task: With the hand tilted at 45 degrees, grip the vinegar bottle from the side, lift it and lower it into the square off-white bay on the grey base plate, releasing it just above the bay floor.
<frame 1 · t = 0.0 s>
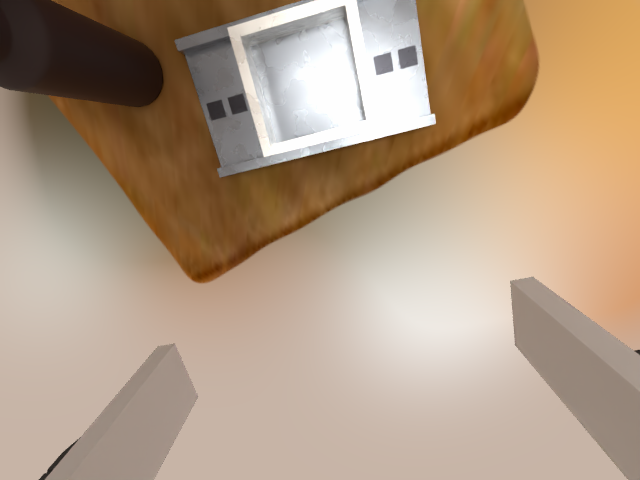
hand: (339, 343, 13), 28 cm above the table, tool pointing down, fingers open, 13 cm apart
grey base plate: (309, 86, 35), on the table
vinegar: (135, 74, 36), on the table
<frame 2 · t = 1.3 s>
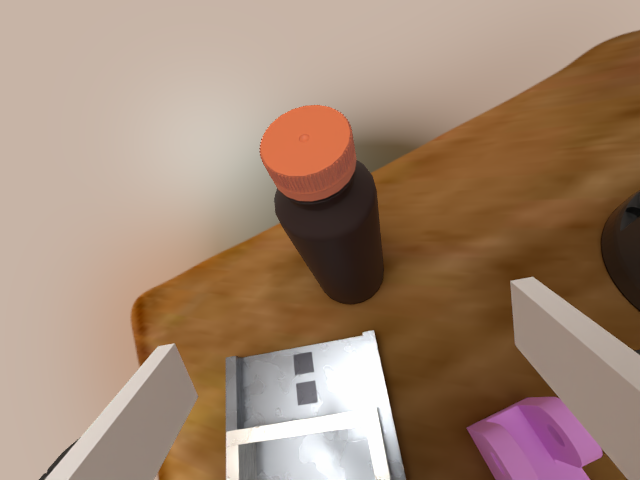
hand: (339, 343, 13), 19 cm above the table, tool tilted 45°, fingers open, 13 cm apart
vinegar: (351, 274, 34), on the table
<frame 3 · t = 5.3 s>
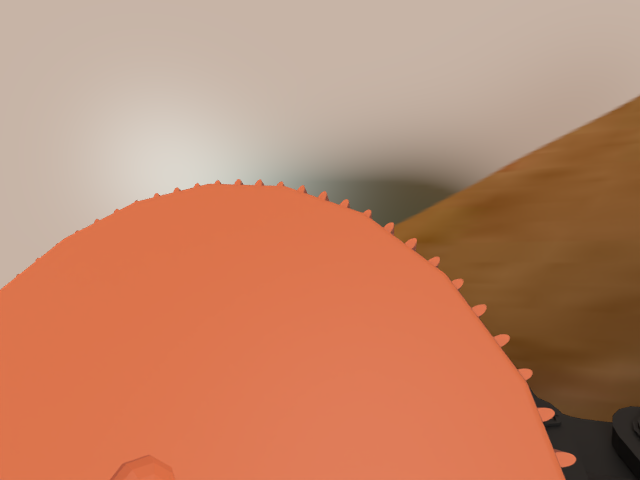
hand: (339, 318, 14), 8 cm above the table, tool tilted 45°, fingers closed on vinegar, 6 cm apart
vinegar: (369, 413, 20), on the table, touching gripper
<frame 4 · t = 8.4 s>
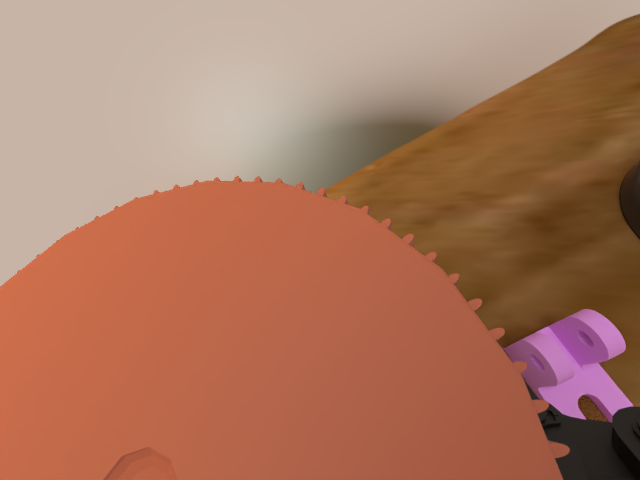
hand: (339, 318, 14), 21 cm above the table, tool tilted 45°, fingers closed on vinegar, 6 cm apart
bracket: (581, 406, 28), on the table
vinegar: (369, 413, 20), point 13 cm above the table, touching gripper
when the fingers open (10 cm above the table, at t = 11.7 s): vinegar drops 1 cm, resting on grey base plate.
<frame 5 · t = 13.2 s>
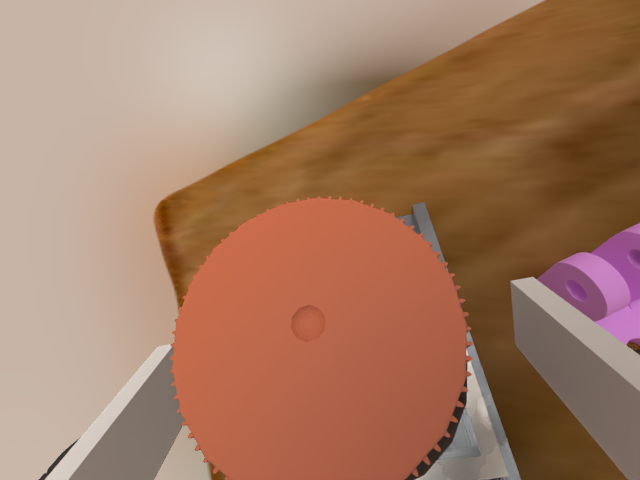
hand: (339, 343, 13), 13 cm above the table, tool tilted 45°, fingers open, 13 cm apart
bracket: (627, 356, 22), on the table
grey base plate: (372, 375, 24), on the table
vinegar: (373, 380, 23), point 1 cm above the table, touching grey base plate
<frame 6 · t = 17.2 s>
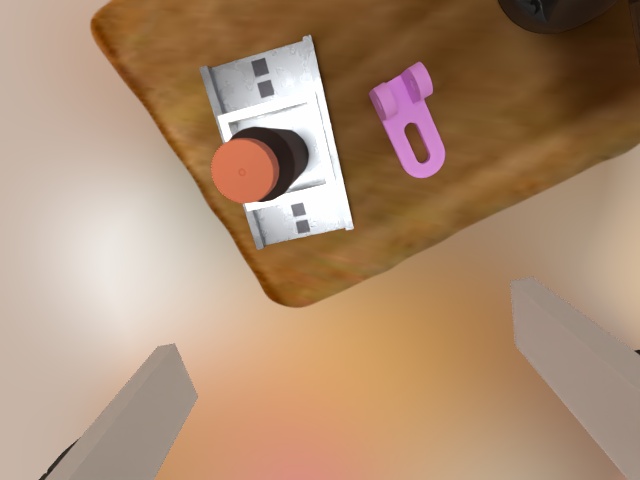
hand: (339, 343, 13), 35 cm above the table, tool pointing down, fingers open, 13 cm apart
bracket: (408, 130, 43), on the table
grey base plate: (284, 152, 44), on the table
vinegar: (284, 155, 44), point 1 cm above the table, touching grey base plate
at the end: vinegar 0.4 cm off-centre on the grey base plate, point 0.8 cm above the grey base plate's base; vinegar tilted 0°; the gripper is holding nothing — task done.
